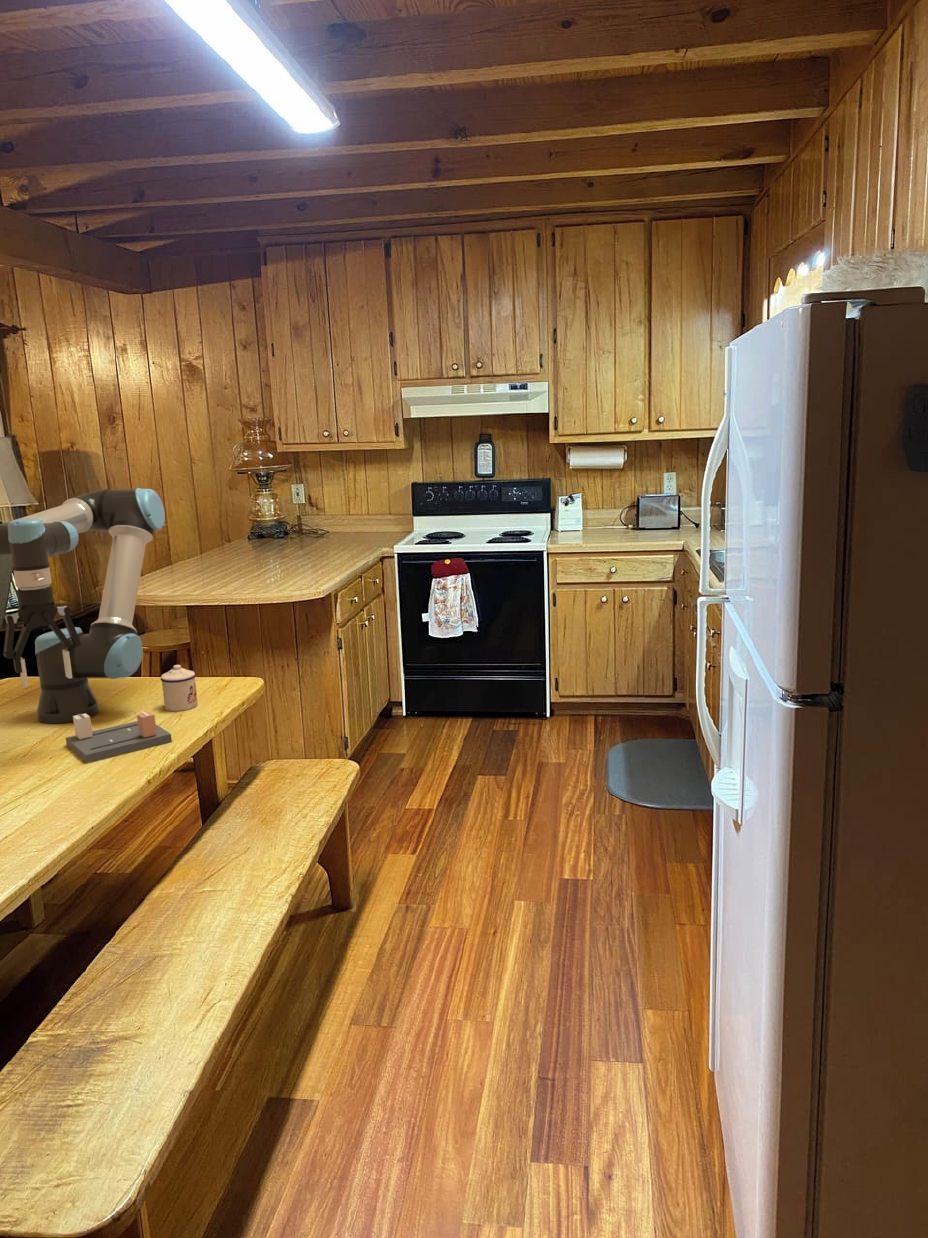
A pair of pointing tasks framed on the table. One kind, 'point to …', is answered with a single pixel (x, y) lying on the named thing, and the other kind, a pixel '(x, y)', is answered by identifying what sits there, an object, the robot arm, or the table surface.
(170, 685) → the teacup with lid
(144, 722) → the fader
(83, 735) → the fader
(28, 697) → the table surface
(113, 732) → the mixer board
